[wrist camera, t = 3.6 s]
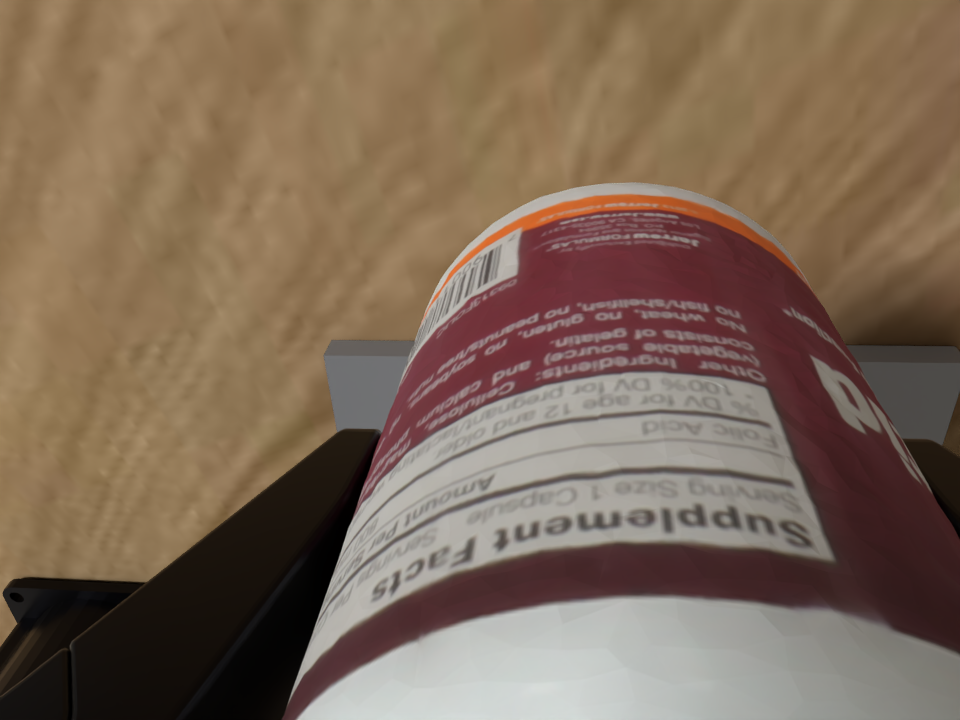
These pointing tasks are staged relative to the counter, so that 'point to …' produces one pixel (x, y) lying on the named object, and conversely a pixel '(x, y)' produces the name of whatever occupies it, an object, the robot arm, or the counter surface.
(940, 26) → the counter surface
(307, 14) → the counter surface
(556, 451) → the pill bottle
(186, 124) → the counter surface
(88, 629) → the robot arm
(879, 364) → the bottle stand
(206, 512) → the counter surface
